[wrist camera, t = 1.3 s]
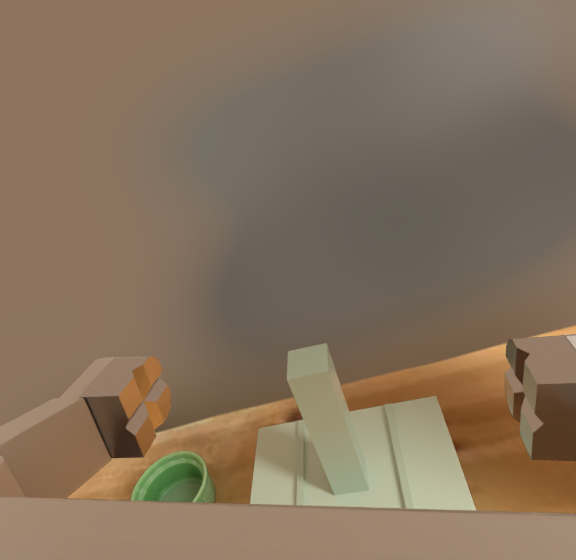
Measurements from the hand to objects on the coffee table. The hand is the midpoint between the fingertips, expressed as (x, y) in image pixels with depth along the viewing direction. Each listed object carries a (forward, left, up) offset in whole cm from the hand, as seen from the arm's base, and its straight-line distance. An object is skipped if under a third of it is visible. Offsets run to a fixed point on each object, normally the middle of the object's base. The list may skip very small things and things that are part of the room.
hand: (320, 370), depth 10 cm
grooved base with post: (+4, -16, -28) cm, 33 cm away
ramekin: (+25, -21, -36) cm, 49 cm away
